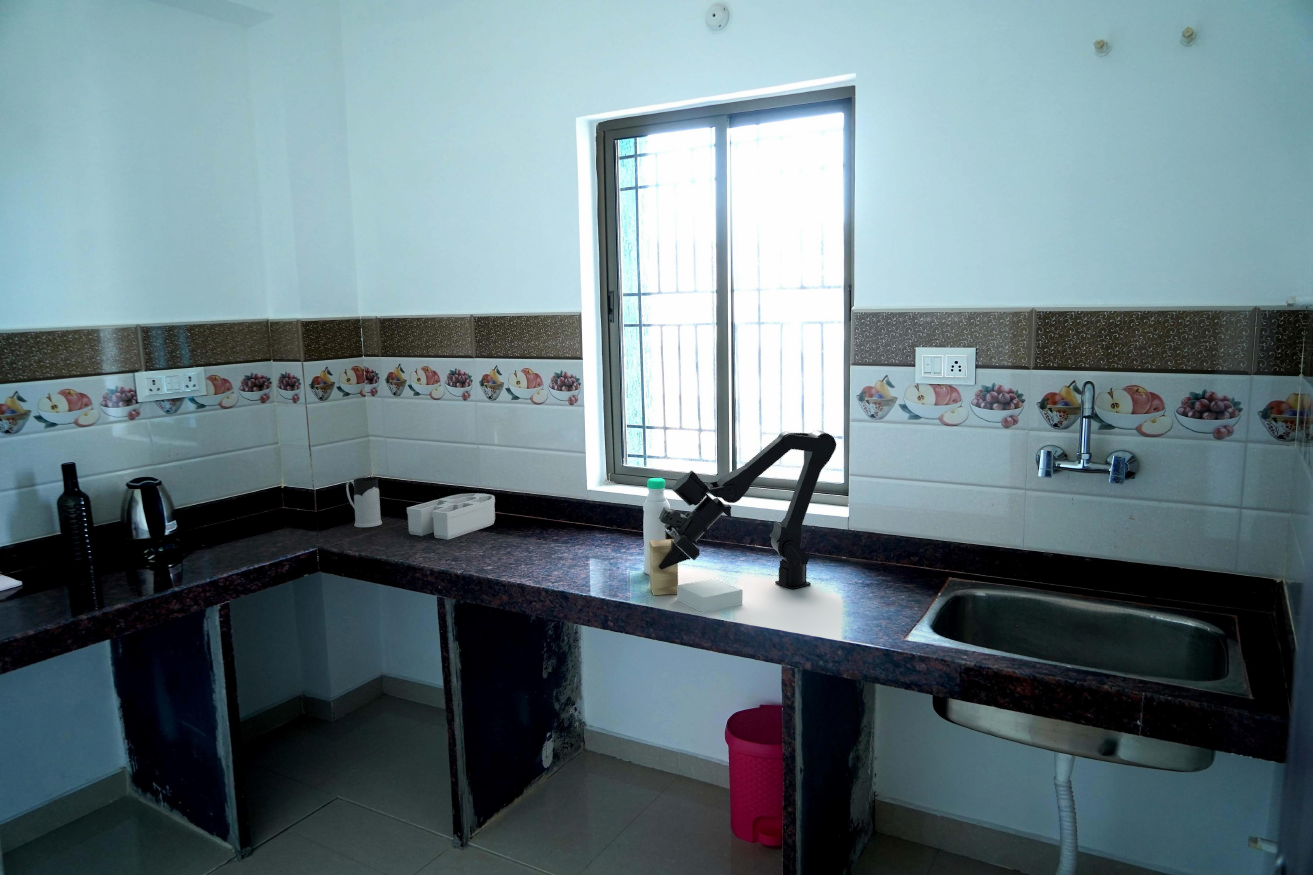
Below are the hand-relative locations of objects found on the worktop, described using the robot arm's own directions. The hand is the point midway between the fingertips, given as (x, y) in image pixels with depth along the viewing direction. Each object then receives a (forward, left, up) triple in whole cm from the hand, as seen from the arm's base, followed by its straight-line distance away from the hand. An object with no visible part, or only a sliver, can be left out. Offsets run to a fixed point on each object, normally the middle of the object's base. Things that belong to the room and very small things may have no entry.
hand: (657, 564), depth 214 cm
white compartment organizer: (+13, -93, -7) cm, 94 cm away
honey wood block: (-1, +1, -7) cm, 7 cm away
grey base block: (-5, +14, -7) cm, 16 cm away
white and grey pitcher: (+36, -118, -7) cm, 124 cm away
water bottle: (-9, -13, -7) cm, 18 cm away
